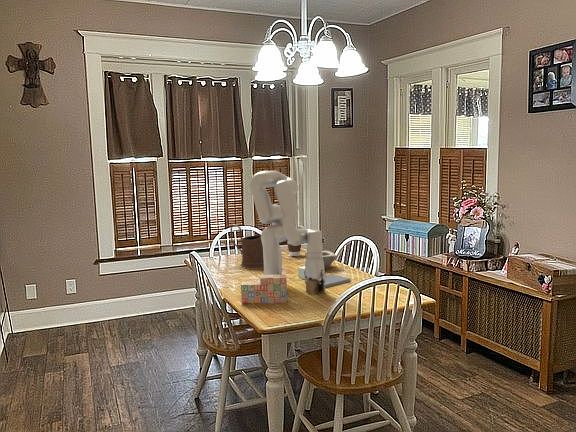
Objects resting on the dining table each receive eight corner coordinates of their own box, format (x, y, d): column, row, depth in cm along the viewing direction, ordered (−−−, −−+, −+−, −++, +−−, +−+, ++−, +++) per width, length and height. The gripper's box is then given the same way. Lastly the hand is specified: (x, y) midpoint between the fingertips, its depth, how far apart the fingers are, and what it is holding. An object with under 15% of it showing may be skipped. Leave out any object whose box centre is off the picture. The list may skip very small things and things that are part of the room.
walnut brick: (312, 294, 257) (312, 282, 256) (306, 292, 261) (305, 280, 260) (324, 291, 262) (324, 279, 261) (318, 289, 266) (317, 277, 265)
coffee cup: (295, 253, 357) (295, 236, 356) (306, 255, 349) (305, 237, 347) (283, 255, 350) (282, 238, 349) (293, 258, 342) (293, 240, 340)
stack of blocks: (241, 304, 243) (240, 278, 242) (242, 300, 250) (241, 275, 248) (287, 303, 244) (286, 277, 242) (287, 299, 250) (286, 274, 248)
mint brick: (304, 279, 286) (303, 268, 285) (298, 278, 290) (298, 267, 289) (315, 277, 291) (314, 266, 290) (309, 275, 295) (308, 265, 294)
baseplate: (323, 288, 267) (323, 285, 267) (305, 283, 278) (305, 280, 278) (350, 281, 280) (350, 278, 279) (332, 276, 290) (332, 274, 290)
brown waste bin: (267, 268, 314) (265, 227, 311) (228, 268, 318) (226, 227, 315) (272, 262, 332) (271, 223, 329) (235, 261, 336) (234, 223, 333)
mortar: (338, 270, 306) (338, 254, 305) (310, 272, 302) (310, 256, 301) (330, 264, 322) (330, 249, 321) (303, 266, 319) (303, 251, 317)
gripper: (297, 253, 263) (298, 288, 265) (321, 258, 250) (321, 294, 252) (308, 251, 268) (309, 285, 270) (332, 256, 254) (333, 291, 257)
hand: (315, 289), depth 261 cm, fingers open, 7 cm apart
